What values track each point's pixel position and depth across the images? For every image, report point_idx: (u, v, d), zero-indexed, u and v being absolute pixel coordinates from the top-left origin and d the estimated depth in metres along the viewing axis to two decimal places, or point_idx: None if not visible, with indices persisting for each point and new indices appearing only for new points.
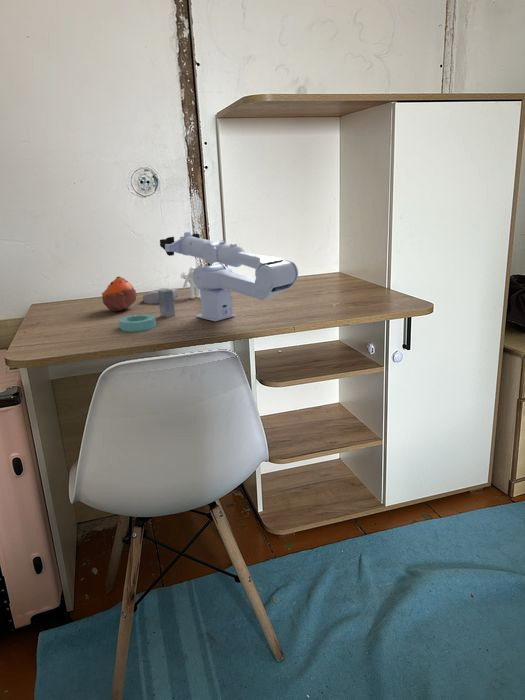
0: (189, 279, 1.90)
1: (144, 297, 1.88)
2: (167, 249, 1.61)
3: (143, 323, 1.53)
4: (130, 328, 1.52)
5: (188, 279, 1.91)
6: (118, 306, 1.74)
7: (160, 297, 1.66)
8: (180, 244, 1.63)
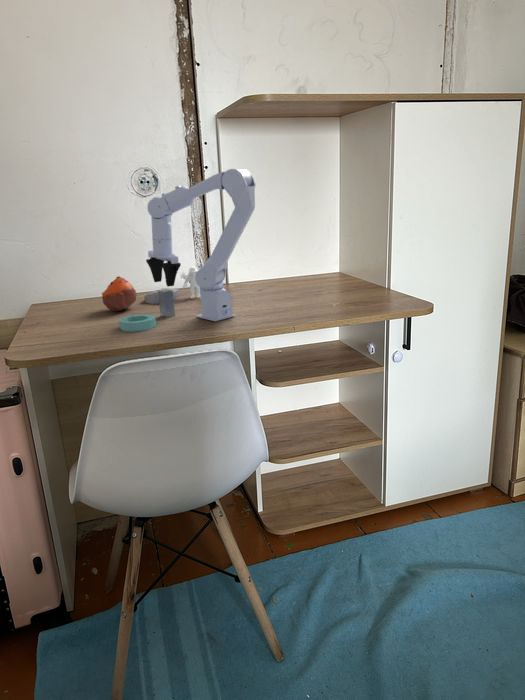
0: (189, 279, 1.90)
1: (146, 297, 1.88)
2: (176, 259, 1.58)
3: (143, 323, 1.53)
4: (130, 328, 1.52)
5: (188, 279, 1.91)
6: (118, 306, 1.74)
7: (160, 297, 1.66)
8: (165, 255, 1.60)
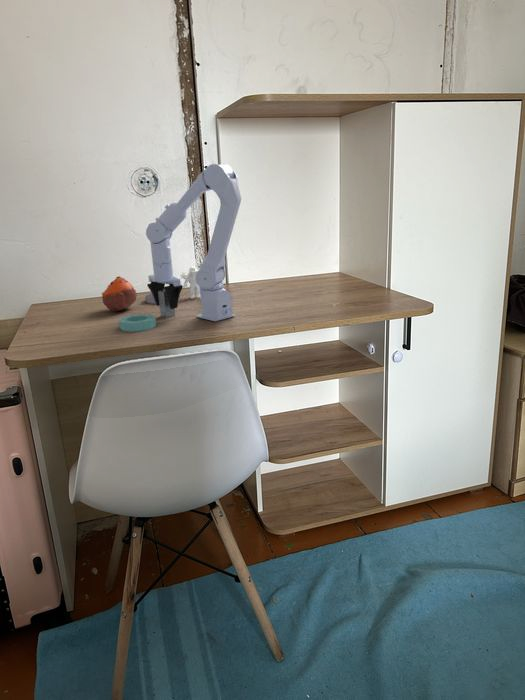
0: (189, 279, 1.90)
1: (147, 297, 1.87)
2: (178, 281, 1.60)
3: (143, 323, 1.53)
4: (130, 328, 1.52)
5: (188, 279, 1.91)
6: (118, 306, 1.74)
7: (160, 297, 1.66)
8: (167, 278, 1.62)
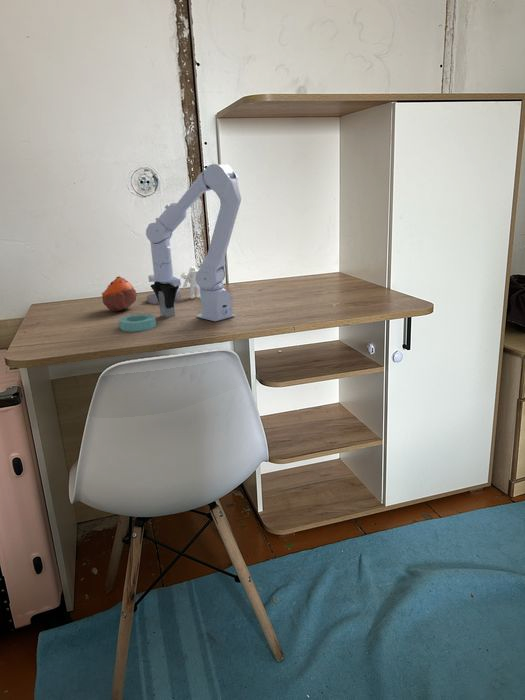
0: (189, 279, 1.90)
1: (148, 297, 1.87)
2: (178, 281, 1.60)
3: (143, 323, 1.53)
4: (130, 328, 1.52)
5: (188, 279, 1.91)
6: (118, 306, 1.74)
7: (160, 297, 1.66)
8: (167, 278, 1.62)
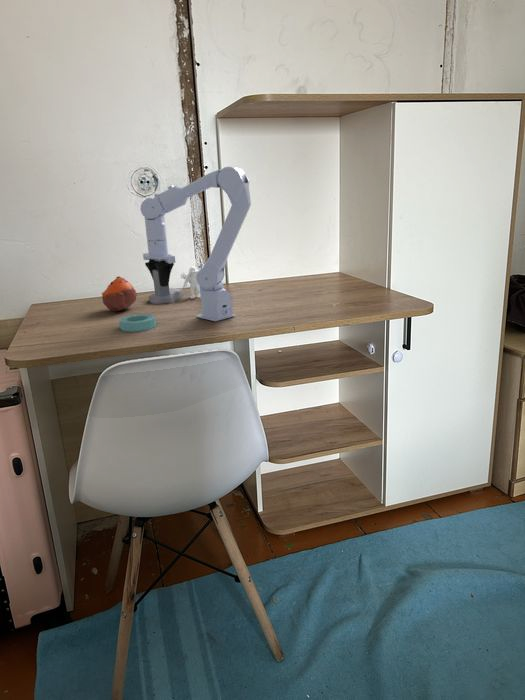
0: (189, 279, 1.90)
1: (150, 297, 1.87)
2: (173, 258, 1.57)
3: (143, 323, 1.53)
4: (130, 328, 1.52)
5: (188, 279, 1.91)
6: (118, 306, 1.74)
7: (155, 276, 1.63)
8: (161, 256, 1.59)
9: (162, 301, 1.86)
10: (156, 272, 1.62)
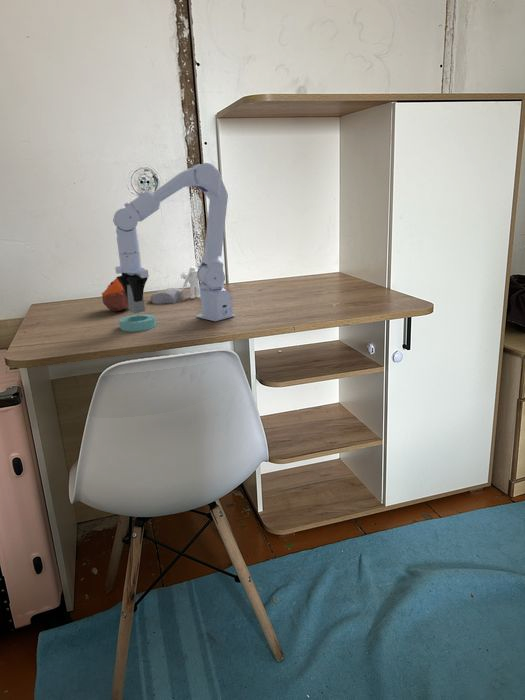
0: (189, 279, 1.90)
1: (152, 297, 1.87)
2: (146, 272, 1.48)
3: (143, 323, 1.53)
4: (130, 328, 1.52)
5: (188, 279, 1.91)
6: (118, 306, 1.74)
7: (129, 291, 1.53)
8: (134, 269, 1.50)
9: (164, 301, 1.86)
10: (130, 287, 1.52)
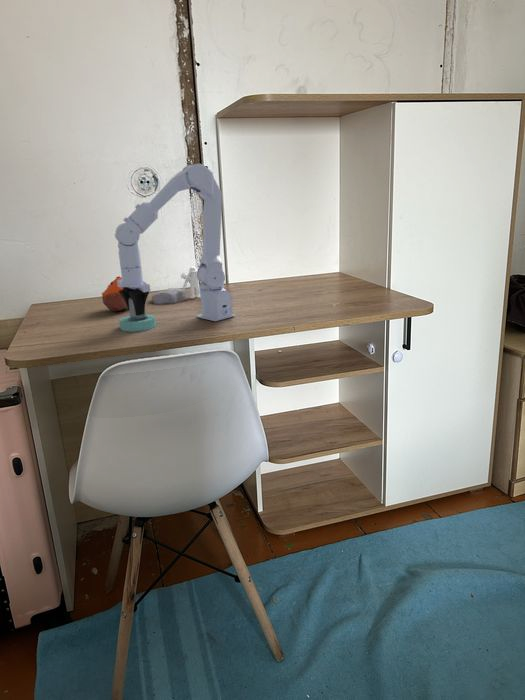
0: (189, 279, 1.90)
1: (153, 297, 1.87)
2: (148, 287, 1.49)
3: (143, 323, 1.53)
4: (130, 328, 1.52)
5: (188, 279, 1.91)
6: (118, 306, 1.74)
7: (130, 304, 1.55)
8: (136, 284, 1.51)
9: (165, 301, 1.86)
10: (132, 301, 1.54)
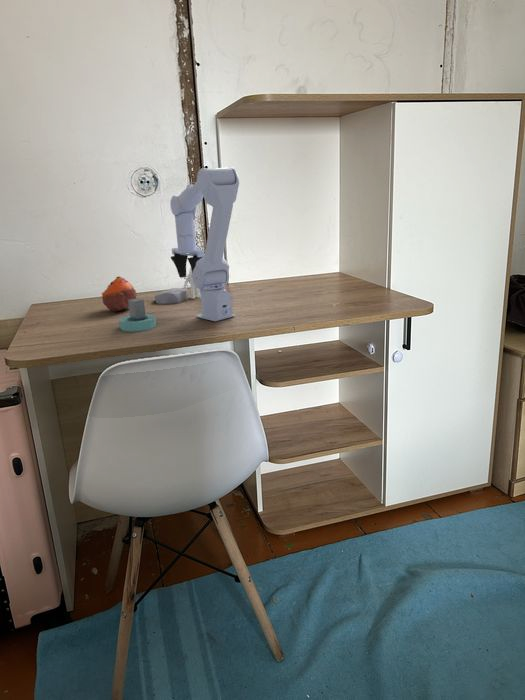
0: (190, 279, 1.90)
1: (156, 297, 1.87)
2: (202, 252, 1.67)
3: (143, 323, 1.53)
4: (130, 328, 1.52)
5: (189, 279, 1.90)
6: (118, 306, 1.74)
7: (131, 306, 1.55)
8: (190, 250, 1.69)
9: (168, 301, 1.86)
10: (132, 303, 1.54)
